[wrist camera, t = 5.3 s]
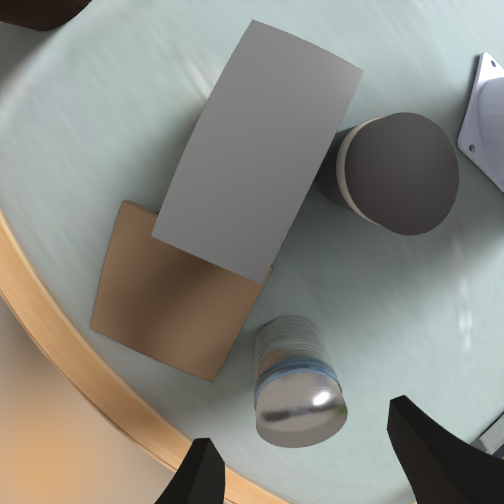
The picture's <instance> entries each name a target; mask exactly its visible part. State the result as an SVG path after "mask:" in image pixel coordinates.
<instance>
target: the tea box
mask: <svg viewBox="0 0 504 504" xmlns="http://www.w3.org/2000/svg"><path fill="white" fill-rule="evenodd" d="M479 439H480V441H481V442H482V444H483V445H484V447H485V448H486V450H487V451H488V453H489V454H490V455H493V456H496V457H498V458H501V459H504V414H503V415H502V416H501V417H500V418H499V420H498V421H497V422H496V423H495V424H494V425H493V426H491V427H490V428H489V429H488V430H487V431H486V432H485V433H484V434H483V435H482V436H481V437H480V438H479Z"/></svg>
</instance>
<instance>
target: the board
mask: <svg viewBox="0 0 504 504" xmlns="http://www.w3.org/2000/svg"><path fill="white" fill-rule="evenodd" d="M158 215H159V214H157V213H155V212H153V211H150V210H148V209H146V208H144V207H141V206H139V205H137V204H134V203H132V202H130V201H128V200H126V201H123V202H122V204H121V207H120V210H119V213H118V217H117V220H116V223H115V226H114V230H113V233H112V237H111V240H110V244H109V248H108V251H107V255H106V259H105V263H104V267H103V271H102V275H101V280H100V284H99V289H98V293H97V298H96V303H95V308H94V313H93V319H92V324H91V328H92V329H94V330H95V331H97V332H99V333H101V334H103V335H105V336H107V337H109V338H111V339H113V340H115V341H117V342H119V343H121V344H123V345H125V346H127V347H129V348H131V349H133V350H135V351H138V352H140V353H142V354H144V355H146V356H148V357H151V358H153V359H155V360H158V361H160V362H162V363H165V364H167V365H169V366H172V367H174V368H177V369H179V370H181V371H184V372H187V373H189V374H192V375H194V376H197V377H200V378H202V379H205V380H208V381H210V382H213V381H214V379H215V377H216V375H217V373H218V371H219V369H220V368H221V366H222V364H223V362H224V360H225V358H226V356H227V355H228V353H229V351H230V349H231V347H232V345H233V343H234V342H235V340H236V338H237V336H238V334H239V332H240V330H241V328H242V326H243V325H244V323H245V321H246V319H247V317H248V315H249V313H250V311H251V309H252V307H253V305H254V303H255V302H256V300H257V298H258V296H259V294H260V292H261V290H262V288H263V286H264V284H265V282H266V280H267V278H268V276H269V274H270V272H271V270H272V268H273V266H272V265H271V267H270V269H269V271H268V273H267V275H266V277H265V279H264V281H263V283H262V284H260V283H257V282H255V281H253V280H250V279H248V278H245V277H243V276H241V275H238V274H236V273H234V272H231V271H229V270H227V269H224V268H222V267H220V266H218V265H215V264H213V263H211V262H208V261H206V260H204V259H201V258H199V257H197V256H195V255H192V254H190V253H188V252H186V251H183V250H181V249H179V248H176V247H174V246H172V245H170V244H168V243H165V242H163V241H161V240H159V239H156V238H154V237H152V236H151V234H152V232H153V229H154V226H155V223H156V220H157V218H158Z"/></svg>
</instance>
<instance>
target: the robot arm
mask: <svg viewBox="0 0 504 504" xmlns="http://www.w3.org/2000/svg"><path fill="white" fill-rule="evenodd" d="M491 64H492V65H491ZM458 146H459V149H460V150H461V151H462V152H463V153H464V154H465V155H467V156H468V157H469V158H470V159H471V160H472V161H473V162H474V163H475V164H476V165H477V166H478V167H479V168H480V169H481V170H482V171H483V172H484V173H485V174H486V175H487V176H488V177H489V178H490V179H491V180H492V181H493V182H494V183H495V184H496V185H497V186H498V188H499V189H500V190H501V191H502V192H503V193H504V70H503V69H502V68H501V66H500V65H499V64H498V63H497V62H496V61H495V60H494V59H493V58H492V57H491V56H490V55H489V54H488V53H486V52H484V53H481V55H480V59H479V64H478V69H477V73H476V78H475V82H474V86H473V90H472V94H471V97H470V101H469V105H468V108H467V112H466V115H465V118H464V122H463V125H462V128H461V131H460V134H459V137H458ZM469 146H471V151H470V149H469ZM387 431H388V434H389V437H390V440H391V443H392V446H393V449H394V451H395V453H396V455H397V457H398V460H399V462H400V464H401V466H402V468H403V470H404V472H405V474H406V476H407V478H408V480H409V482H410V485H411V487H412V489H413V492H414V494H415V497H416V501H417V504H504V459H501V458H498V457H496V456H493V455H490V454H488V453H485V452H483V451H481V450H479V449H477V448H475V447H473V446H471V445H469V444H467V443H466V442H464V441H462V440H461V439H459V438H457V437H456V436H454V435H453V434H451V433H450V432H449V431H447V430H446V429H444V428H443V427H442V426H440V425H439V424H438V423H437V422H435V421H434V420H433V419H431V418H430V417H429V416H428V415H427V414H425V413H424V412H423V411H422V410H421V409H420V408H419V407H417V406H416V405H415V404H414V403H413V402H412V401H411V400H410V399H409V398H408V397H407V396H405V395H402V396H400V397H397V398H394V399H391V400H390V406H389V415H388V423H387ZM224 492H225V462H224V461H223V459H222V458H221V456H220V454H219V453H218V451H217V449H216V448H215V446H214V444H213V443H212V441H211V439H210V438H198V439H195V440H194V441H193V443H192V445H191V447H190V449H189V450H188V452H187V454H186V456H185V458H184V460H183V462H182V463H181V465H180V467H179V469H178V470H177V472H176V473H175V475H174V477H173V479H172V480H171V481H170V483H169V485H168V486H167V487H166V489H165V490H164V492H163V493H162V494H161V496H160V497H159V498H158V500H157V501H156V502H155V503H154V504H223V501H224Z"/></svg>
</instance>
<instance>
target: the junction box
mask: <svg viewBox="0 0 504 504" xmlns="http://www.w3.org/2000/svg"><path fill="white" fill-rule="evenodd" d="M363 72H364V71H363V70H362V69H360V68H358V67H356V66H355V65H353V64H351V63H349V62H347V61H346V60H344V59H342V58H340V57H338V56H336V55H334V54H332V53H330V52H328V51H326V50H324V49H322V48H320V47H318V46H316V45H314V44H312V43H310V42H308V41H305V40H303V39H301V38H299V37H296V36H294V35H292V34H289V33H287V32H284V31H282V30H279V29H277V28H274V27H272V26H269V25H266V24H264V23H261V22H258V21H255V20H252V21H251V23H250V25H249V26H248V28H247V29H246V31H245V33H244V35H243V36H242V38H241V40H240V41H239V43H238V45H237V47H236V48H235V50H234V52H233V54H232V55H231V57H230V59H229V61H228V63H227V64H226V66H225V68H224V70H223V72H222V74H221V76H220V77H219V79H218V81H217V83H216V85H215V87H214V89H213V91H212V93H211V95H210V97H209V99H208V101H207V103H206V105H205V107H204V109H203V111H202V113H201V115H200V117H199V119H198V122H197V124H196V126H195V128H194V130H193V132H192V135H191V137H190V139H189V141H188V143H187V146H186V148H185V150H184V153H183V155H182V157H181V160H180V162H179V164H178V167H177V169H176V171H175V174H174V176H173V179H172V181H171V184H170V186H169V189H168V191H167V194H166V196H165V199H164V202H163V204H162V207H161V209H160V212H159V215H158V218H157V220H156V223H155V226H154V229H153V232H152V234H151V236H152V237H154V238H156V239H159V240H161V241H163V242H165V243H168V244H170V245H172V246H174V247H176V248H179V249H181V250H183V251H186V252H188V253H190V254H192V255H195V256H197V257H199V258H201V259H204V260H206V261H208V262H211V263H213V264H215V265H218V266H220V267H222V268H224V269H227V270H229V271H231V272H234V273H236V274H238V275H241V276H243V277H245V278H248V279H250V280H253V281H255V282H257V283H260V284H262V283H263V281H264V279H265V277H266V275H267V273H268V271H269V269H270V267H271V265H272V263H273V261H274V259H275V257H276V255H277V253H278V251H279V249H280V247H281V245H282V243H283V241H284V239H285V237H286V235H287V233H288V231H289V229H290V227H291V225H292V223H293V221H294V219H295V217H296V215H297V213H298V211H299V209H300V207H301V205H302V203H303V201H304V198H305V196H306V194H307V192H308V190H309V188H310V186H311V184H312V182H313V180H314V178H315V176H316V174H317V172H318V169H319V167H320V165H321V163H322V161H323V159H324V157H325V155H326V153H327V151H328V148H329V146H330V144H331V142H332V140H333V138H334V136H335V134H336V131H337V129H338V127H339V125H340V123H341V121H342V119H343V116H344V114H345V112H346V110H347V108H348V106H349V103H350V101H351V99H352V97H353V95H354V92H355V90H356V88H357V86H358V84H359V81H360V79H361V77H362V75H363Z"/></svg>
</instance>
